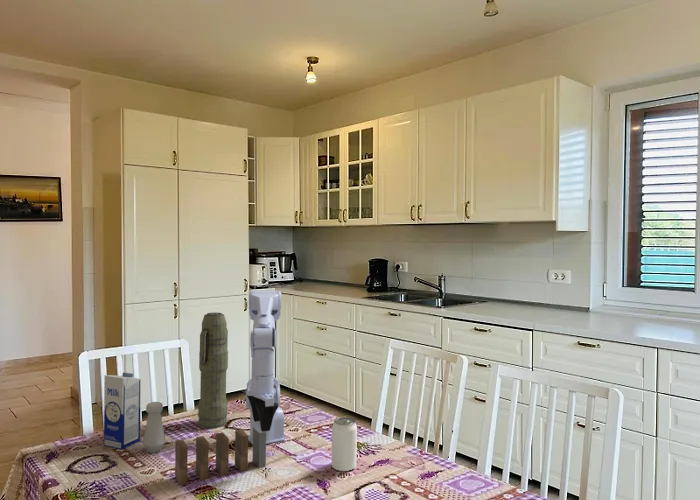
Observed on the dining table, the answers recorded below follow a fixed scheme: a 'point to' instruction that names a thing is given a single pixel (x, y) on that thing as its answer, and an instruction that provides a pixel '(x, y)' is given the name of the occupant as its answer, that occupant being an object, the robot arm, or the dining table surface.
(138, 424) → the milk carton
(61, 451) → the dining table surface
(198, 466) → the domino
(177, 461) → the domino
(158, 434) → the salt shaker
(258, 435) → the domino
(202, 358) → the thermos
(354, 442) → the can
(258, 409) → the robot arm
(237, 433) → the domino
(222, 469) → the domino
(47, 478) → the dining table surface
